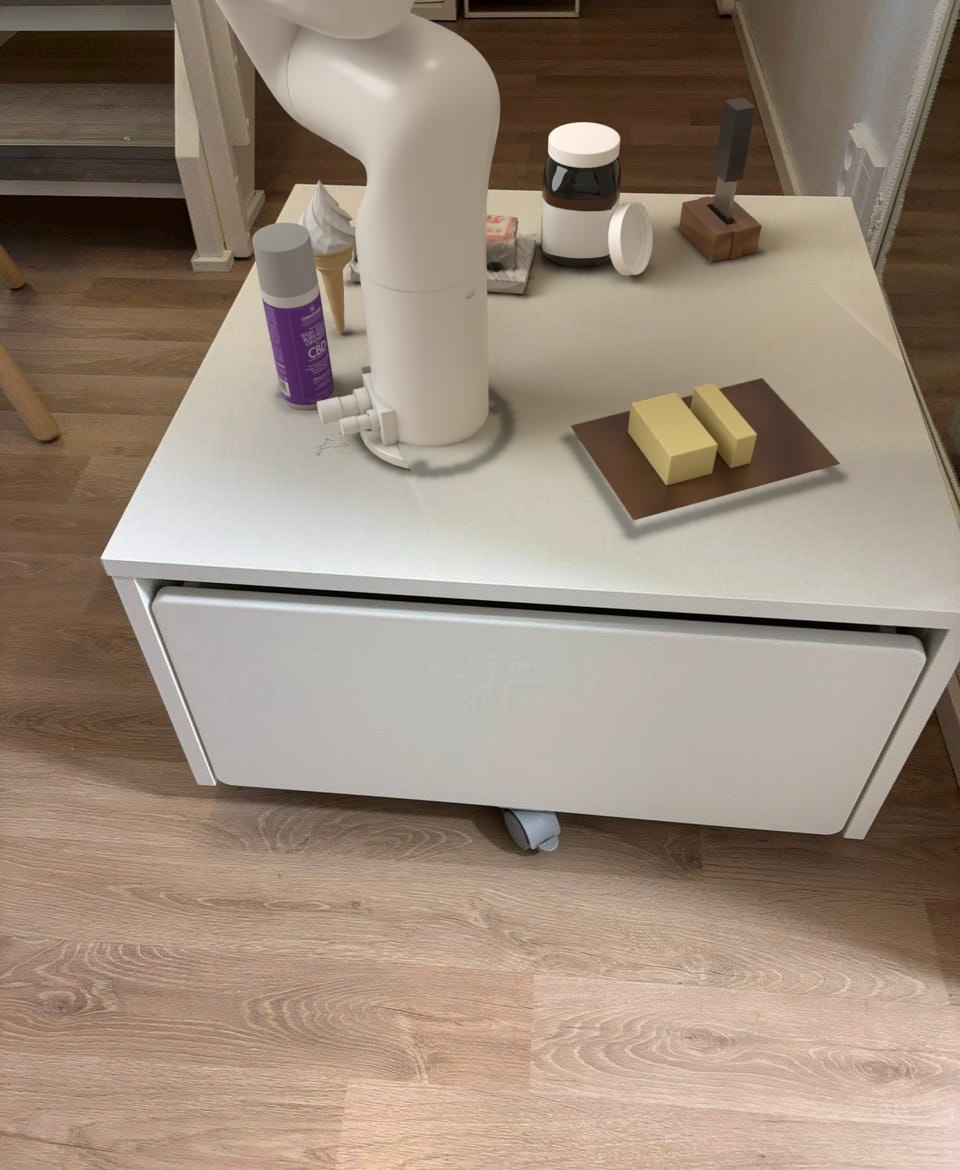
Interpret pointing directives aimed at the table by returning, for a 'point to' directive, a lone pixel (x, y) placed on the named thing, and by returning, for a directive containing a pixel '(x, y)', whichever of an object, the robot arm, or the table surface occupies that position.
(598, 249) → the spread jar
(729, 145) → the knife
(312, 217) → the ice cream cone
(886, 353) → the table surface
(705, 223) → the knife block
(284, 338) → the container
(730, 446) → the butter slice
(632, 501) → the board
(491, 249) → the packaged product
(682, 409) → the butter block
